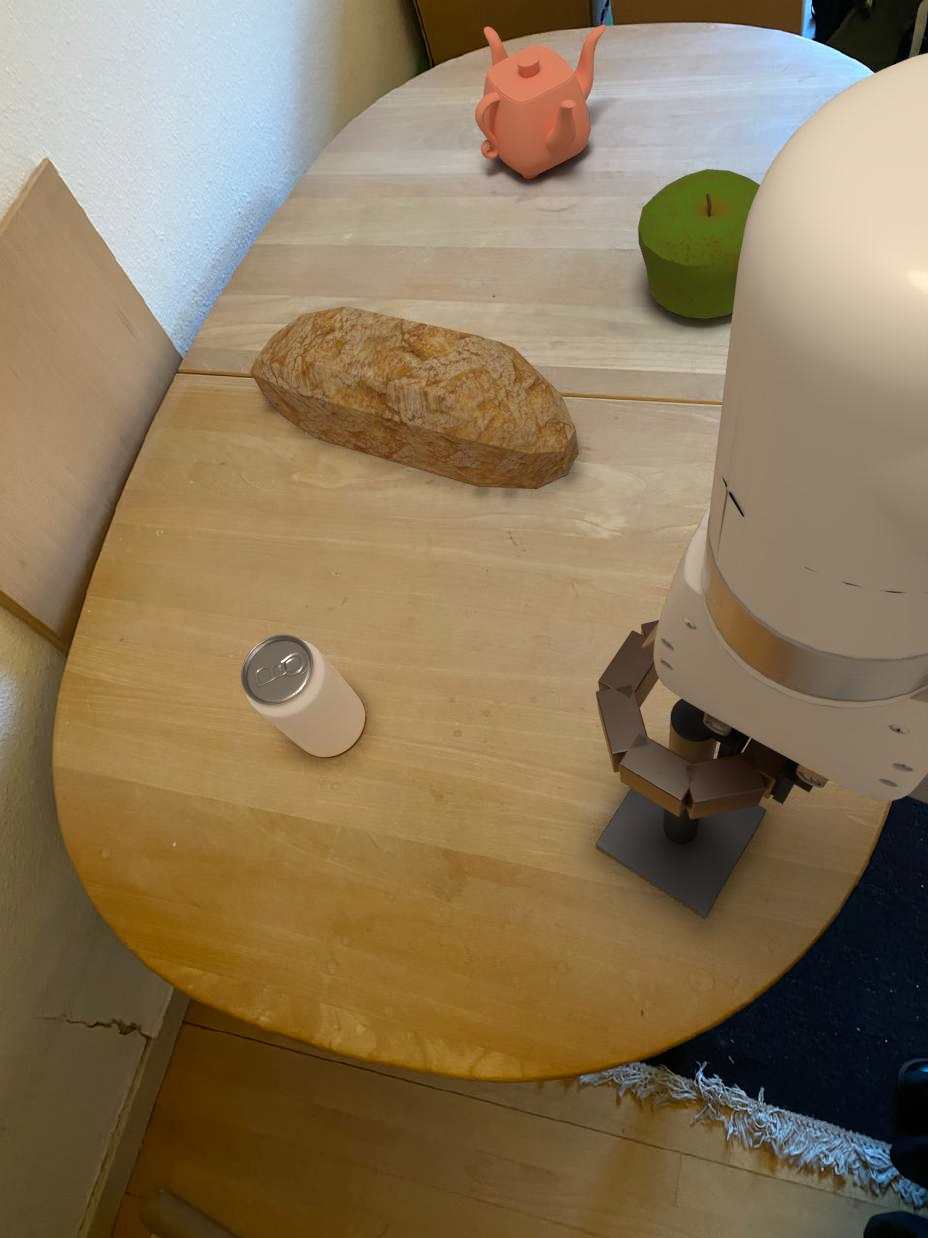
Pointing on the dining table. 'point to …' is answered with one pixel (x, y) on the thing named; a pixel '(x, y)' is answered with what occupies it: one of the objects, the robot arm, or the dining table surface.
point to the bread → (419, 397)
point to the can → (302, 695)
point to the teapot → (535, 105)
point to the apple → (696, 241)
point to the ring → (662, 769)
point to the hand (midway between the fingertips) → (764, 757)
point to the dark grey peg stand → (681, 829)
